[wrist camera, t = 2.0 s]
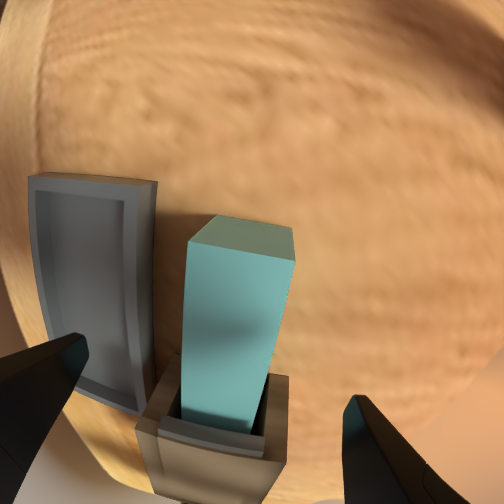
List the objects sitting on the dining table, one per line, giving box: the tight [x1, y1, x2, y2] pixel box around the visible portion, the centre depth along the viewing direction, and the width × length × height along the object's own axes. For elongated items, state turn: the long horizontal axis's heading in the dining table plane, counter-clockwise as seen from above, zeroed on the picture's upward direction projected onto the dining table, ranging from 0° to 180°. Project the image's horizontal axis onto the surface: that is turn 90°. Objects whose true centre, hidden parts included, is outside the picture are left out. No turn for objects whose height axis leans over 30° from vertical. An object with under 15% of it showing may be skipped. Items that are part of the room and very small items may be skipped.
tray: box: [28, 172, 158, 418], centre depth 17 cm, size 18×9×2 cm, turn 171°
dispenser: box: [135, 353, 289, 504], centre depth 17 cm, size 12×8×7 cm
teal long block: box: [181, 215, 295, 435], centre depth 15 cm, size 12×4×5 cm, turn 171°
